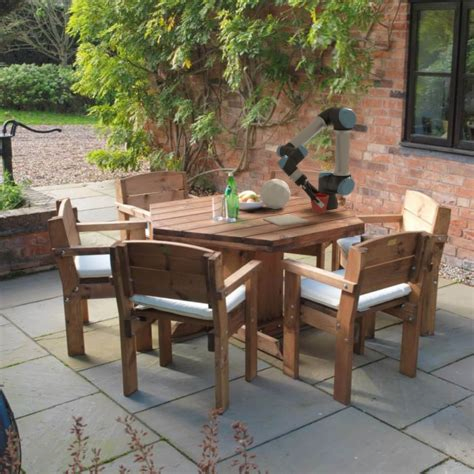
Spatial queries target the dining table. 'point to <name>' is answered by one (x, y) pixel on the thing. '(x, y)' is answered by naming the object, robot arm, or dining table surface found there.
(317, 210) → the flower pot
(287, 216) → the stone tile
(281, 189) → the geometric orb
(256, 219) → the dining table surface
